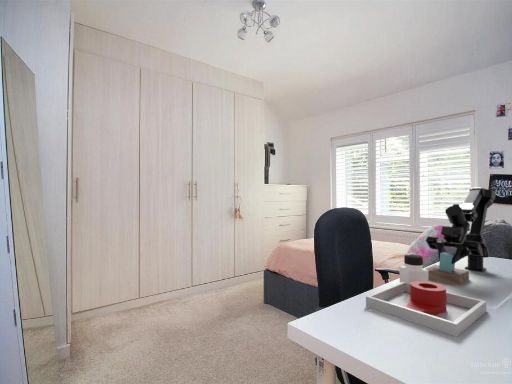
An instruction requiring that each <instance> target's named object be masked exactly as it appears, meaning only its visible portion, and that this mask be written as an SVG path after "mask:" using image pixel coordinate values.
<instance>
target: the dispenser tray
mask: <svg viewBox="0 0 512 384" xmlns="http://www.w3.org/2000/svg"><path fill="white" fill-rule="evenodd" d="M404 292H406V293H410V283H407V282H401V283H400V282H399V283H396V284H394V285H391V286H388V287H387V288H384V289H383V288H382V289H381V290H379V291H376V292H374V293H370V294H368V295H366V296H365V307H368V308H371V309H374V310H376V311H380V312H383V313H386V314H388V315H391V316H393V317H397V318H399V319H403V320H405V321H406V320H407V321H409V322H411V323H414V324H417V325H420V326H423V327H426V328H429V329H432V330H436V331H438V332H440V333H441V332H442V333H444V334H447V335H450V336H454V337H455V338H456V337H458V336H460V335H461V334H462V333H463V332H464V331H465V330H466V329H467V328H469V327H470V326H471V325H472V324H473V323H475V322H476V321H477V320H478V319H479V318H480V317H482V316H483V315H484V314H486V313H487V301H486V300H482V299H478V298H474V297H469V296H466V295H463V294H457V293H453V292H449V291H446V303H448V304H451V305H452V304H453V305H456V306H460V307H462V308H463V307H464V308H467V309H468V310H467V311H466V312H465V313H463V314H462V315H460V316H459V317H458V318H456V319H455V320H453V321H451V320H448V319H446V318H445V319H444V318H442V317H439V316H437V315H435V316H432V315H429V314H426V313H423V312H419V311H416V310H413V309H410V308H406V306H403V305H400V304H396V303H393V302H389V301H387V300H388V299H390V298H393V297H394V296H398V295H399V294H402V293H404Z"/></svg>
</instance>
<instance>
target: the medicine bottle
mask: <svg viewBox="0 0 512 384" xmlns="http://www.w3.org/2000/svg"><path fill="white" fill-rule="evenodd" d="M403 262H404V263H403V264H404V265H400V266H399V283H401V282H407V283H411V282H413V281H427V282H430V280H429V271H428V270H426V268H423V267H424V257H423V256H421V255H419V254H418V253H417V254H415V253H407V254H404V261H403Z"/></svg>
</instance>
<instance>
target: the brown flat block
mask: <svg viewBox="0 0 512 384" xmlns="http://www.w3.org/2000/svg"><path fill="white" fill-rule="evenodd" d="M425 269H426V270H428V271H429V281H433V282H434V281H435V282H439V283H444V284H447V285H448V284H449V285H453V286H456V287H458V286H461V285H462V284H463V283H466V282H468V281H469V280H470V271H469V269H461V268H455V269H454V271H452V272H446V271H441V270H439V264H434V265H431V266H429V267H426V268H425Z"/></svg>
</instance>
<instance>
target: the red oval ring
mask: <svg viewBox="0 0 512 384" xmlns="http://www.w3.org/2000/svg"><path fill="white" fill-rule="evenodd" d="M446 292H447V287H446V286H445V285H443V284H439V283H437V282H434V281H433V282H432V281H429V282H427V281H413V282H411V283H410V292H409V295H410V297H409V299H408V302H407V304H406V306H405V307H406V308H410V309H413V310H416V311H419V312H423V313H426V314H429V315H432V316H437V315H440V314H445V313H446V312H447V302H446Z"/></svg>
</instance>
